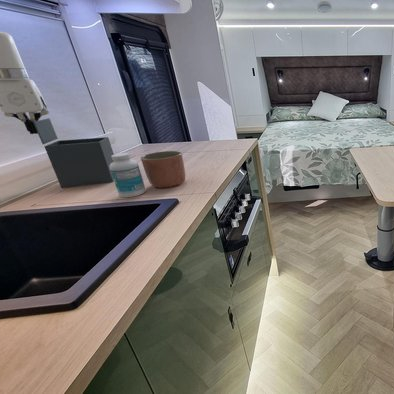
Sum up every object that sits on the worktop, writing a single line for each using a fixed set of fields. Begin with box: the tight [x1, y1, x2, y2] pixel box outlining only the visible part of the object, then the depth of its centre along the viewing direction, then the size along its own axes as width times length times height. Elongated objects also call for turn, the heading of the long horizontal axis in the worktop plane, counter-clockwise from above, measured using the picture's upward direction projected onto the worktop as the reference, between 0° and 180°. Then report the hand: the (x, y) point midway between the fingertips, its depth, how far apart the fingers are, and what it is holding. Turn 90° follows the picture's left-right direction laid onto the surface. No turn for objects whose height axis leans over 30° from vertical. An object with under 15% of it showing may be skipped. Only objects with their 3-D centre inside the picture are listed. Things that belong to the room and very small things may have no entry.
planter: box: [140, 150, 186, 189], centre depth 104 cm, size 12×12×11 cm
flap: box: [33, 117, 59, 145], centre depth 100 cm, size 7×11×1 cm
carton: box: [44, 136, 114, 189], centre depth 107 cm, size 15×11×15 cm
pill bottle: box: [109, 152, 147, 198], centre depth 94 cm, size 8×7×14 cm
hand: (35, 133), depth 99 cm, fingers closed
